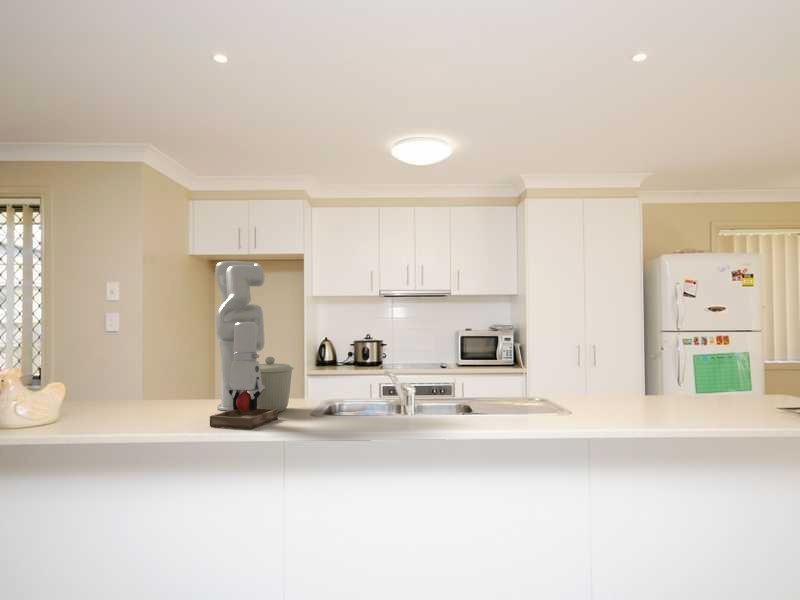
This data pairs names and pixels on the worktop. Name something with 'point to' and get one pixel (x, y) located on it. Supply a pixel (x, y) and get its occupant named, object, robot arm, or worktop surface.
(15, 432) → the worktop surface
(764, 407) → the worktop surface
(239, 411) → the walnut tray
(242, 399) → the onion
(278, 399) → the canister
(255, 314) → the robot arm
